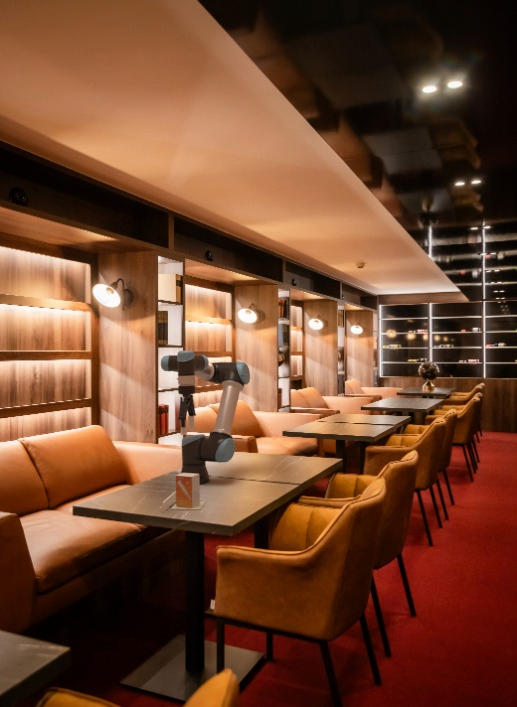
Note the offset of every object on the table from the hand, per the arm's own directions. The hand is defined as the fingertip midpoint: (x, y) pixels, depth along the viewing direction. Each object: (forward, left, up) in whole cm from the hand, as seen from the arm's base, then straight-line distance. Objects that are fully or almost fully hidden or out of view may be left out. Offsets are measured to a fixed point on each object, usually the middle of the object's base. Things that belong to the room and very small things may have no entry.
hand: (187, 432), depth 264 cm
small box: (+17, +4, -28) cm, 33 cm away
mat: (+16, +4, -29) cm, 33 cm away
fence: (+16, -4, -29) cm, 33 cm away
